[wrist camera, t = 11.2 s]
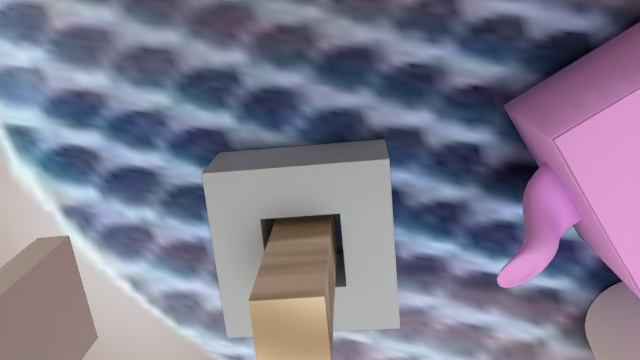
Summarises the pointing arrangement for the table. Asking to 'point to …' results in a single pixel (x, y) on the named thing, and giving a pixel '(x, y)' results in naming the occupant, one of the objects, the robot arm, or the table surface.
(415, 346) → the table surface
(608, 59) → the teapot
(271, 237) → the long peg
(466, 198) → the table surface
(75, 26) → the table surface
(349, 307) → the socket block
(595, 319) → the cup
